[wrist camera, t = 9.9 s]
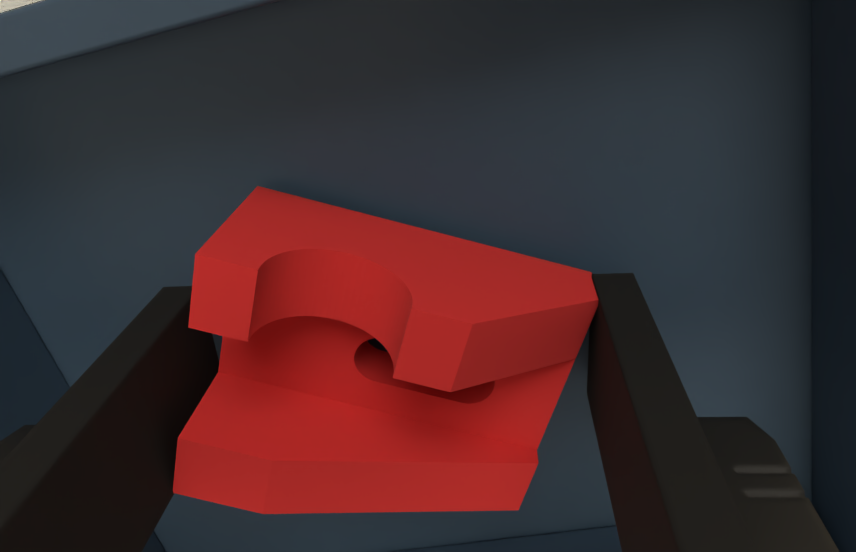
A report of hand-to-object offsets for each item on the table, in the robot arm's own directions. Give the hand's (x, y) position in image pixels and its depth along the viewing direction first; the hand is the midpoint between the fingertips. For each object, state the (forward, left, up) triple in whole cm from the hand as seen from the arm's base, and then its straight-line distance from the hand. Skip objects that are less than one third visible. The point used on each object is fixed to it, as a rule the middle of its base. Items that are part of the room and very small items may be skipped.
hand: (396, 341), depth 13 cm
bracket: (0, 0, 0) cm, 0 cm away
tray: (0, 0, -1) cm, 1 cm away
